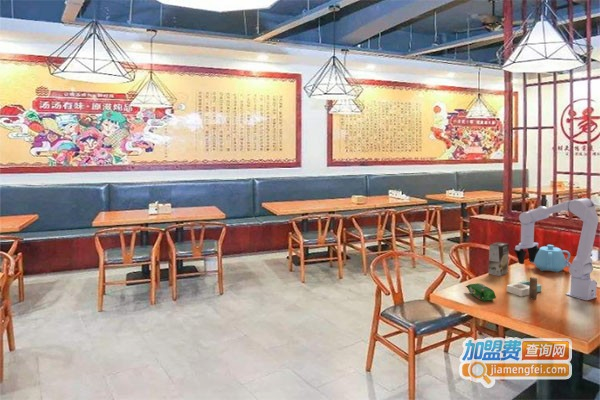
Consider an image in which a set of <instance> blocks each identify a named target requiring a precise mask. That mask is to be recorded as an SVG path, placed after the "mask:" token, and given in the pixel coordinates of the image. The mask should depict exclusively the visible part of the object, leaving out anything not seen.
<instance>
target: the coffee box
mask: <svg viewBox="0 0 600 400" xmlns="http://www.w3.org/2000/svg"><path fill="white" fill-rule="evenodd" d="M509 248H510V243H506V242H500V241H498V242H493V243H490V244H489V251H488V252H489V253H488V254H489V256H488V257H489V258H488V274H489V275H491V276H492V275H493V276H498V277H502V276H504V275H506V274H508V273H509V258H510V257H509V255H510V250H509Z"/></svg>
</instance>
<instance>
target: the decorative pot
mask: <svg viewBox="0 0 600 400" xmlns="http://www.w3.org/2000/svg"><path fill="white" fill-rule="evenodd" d="M564 253H565V254H567V258H566V257H565V254H564ZM570 258H571V253H570V252H569V251H568V250H562V249H561V248H559V247H557V246H555V245H553V244H547V245H546V246H545V245H544V246H541V247H539V251H538V252H537V254H536V257H535V260H534V262H531V261H529V262H530V263H531V264H534V265H535V267H536V268H537V269H538V270H540V271H541V272H546V271H548V272H549V271H551V272H554V273H559V272H562V271H563V270H564V269H565V268H567V267H568V268H569V267H570V265H571V264H572V262H570V261H569V260H570Z"/></svg>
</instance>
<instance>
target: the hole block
mask: <svg viewBox="0 0 600 400" xmlns="http://www.w3.org/2000/svg"><path fill="white" fill-rule="evenodd" d="M529 287H530V280H524V281H523V280H522V281H519V282H515V283H511V284H507V285H506V293H511V294H514V295H516V296H520V297H524V296H529ZM540 292H542V284H539V283H537V293H540Z"/></svg>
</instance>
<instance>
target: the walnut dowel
mask: <svg viewBox="0 0 600 400" xmlns="http://www.w3.org/2000/svg"><path fill="white" fill-rule="evenodd" d="M529 282H530V287H529V295H528V297H529V298H530V299H531V298H532V299H533V300H535V299H536V300H537V297H538V296H537V295H538V294H537V293H538V292H537V284H538V278H537V277H529ZM529 298H528V299H529ZM532 299H531V300H532Z"/></svg>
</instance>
